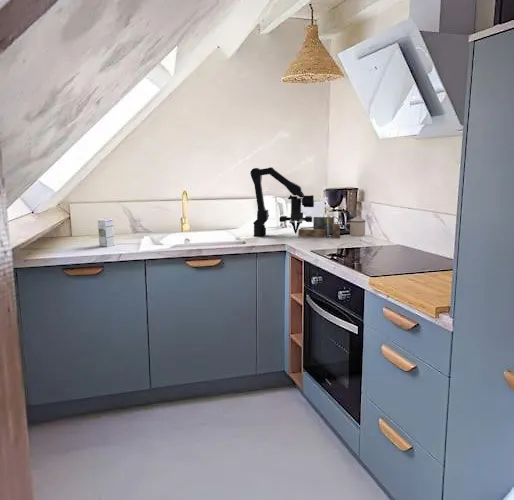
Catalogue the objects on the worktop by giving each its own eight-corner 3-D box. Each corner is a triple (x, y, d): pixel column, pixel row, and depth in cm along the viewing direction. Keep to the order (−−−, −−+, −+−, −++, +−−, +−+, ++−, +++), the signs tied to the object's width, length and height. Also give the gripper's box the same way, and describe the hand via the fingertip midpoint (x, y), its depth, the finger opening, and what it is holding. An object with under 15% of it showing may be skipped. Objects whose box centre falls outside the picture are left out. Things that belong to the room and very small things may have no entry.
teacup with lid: (365, 234, 299) (365, 214, 297) (365, 236, 290) (365, 216, 288) (344, 233, 302) (345, 214, 300) (344, 236, 293) (344, 216, 291)
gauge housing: (313, 237, 287) (313, 220, 285) (313, 233, 304) (313, 217, 302) (339, 238, 285) (340, 220, 284) (338, 233, 302) (338, 217, 300)
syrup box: (115, 245, 268) (113, 218, 265) (106, 247, 263) (104, 219, 260) (107, 244, 270) (105, 217, 268) (99, 246, 265) (97, 219, 263)
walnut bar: (298, 236, 293) (298, 229, 292) (299, 235, 297) (299, 228, 296) (325, 237, 289) (325, 230, 288) (326, 236, 293) (326, 229, 292)
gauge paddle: (326, 236, 287) (327, 221, 285) (326, 233, 301) (326, 218, 300) (328, 236, 287) (329, 221, 285) (328, 233, 301) (328, 218, 299)
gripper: (278, 208, 283) (278, 235, 286) (312, 208, 281) (311, 236, 284) (280, 206, 294) (280, 232, 297) (312, 206, 292) (311, 233, 295)
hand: (295, 233), depth 293 cm, fingers closed
